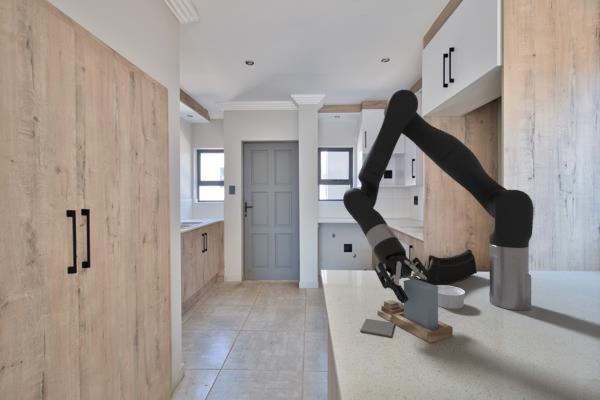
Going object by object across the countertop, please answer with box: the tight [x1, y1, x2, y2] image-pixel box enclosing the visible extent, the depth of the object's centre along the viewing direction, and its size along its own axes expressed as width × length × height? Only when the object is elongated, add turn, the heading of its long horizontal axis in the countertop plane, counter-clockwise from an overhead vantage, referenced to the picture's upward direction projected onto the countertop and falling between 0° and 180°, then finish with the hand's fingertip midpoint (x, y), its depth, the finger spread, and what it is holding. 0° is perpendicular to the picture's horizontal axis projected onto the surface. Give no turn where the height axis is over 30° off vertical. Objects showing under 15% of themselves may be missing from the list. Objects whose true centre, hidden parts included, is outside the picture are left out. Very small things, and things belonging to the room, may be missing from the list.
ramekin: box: [437, 284, 466, 310], centre depth 85 cm, size 9×9×4 cm
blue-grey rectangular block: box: [403, 279, 439, 331], centre depth 70 cm, size 7×4×11 cm, turn 26°
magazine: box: [421, 249, 478, 286], centre depth 107 cm, size 17×3×30 cm
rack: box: [377, 299, 454, 344], centre depth 72 cm, size 17×7×4 cm, turn 26°
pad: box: [359, 318, 395, 338], centre depth 71 cm, size 7×7×1 cm
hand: (418, 298), depth 70 cm, fingers open, 8 cm apart
